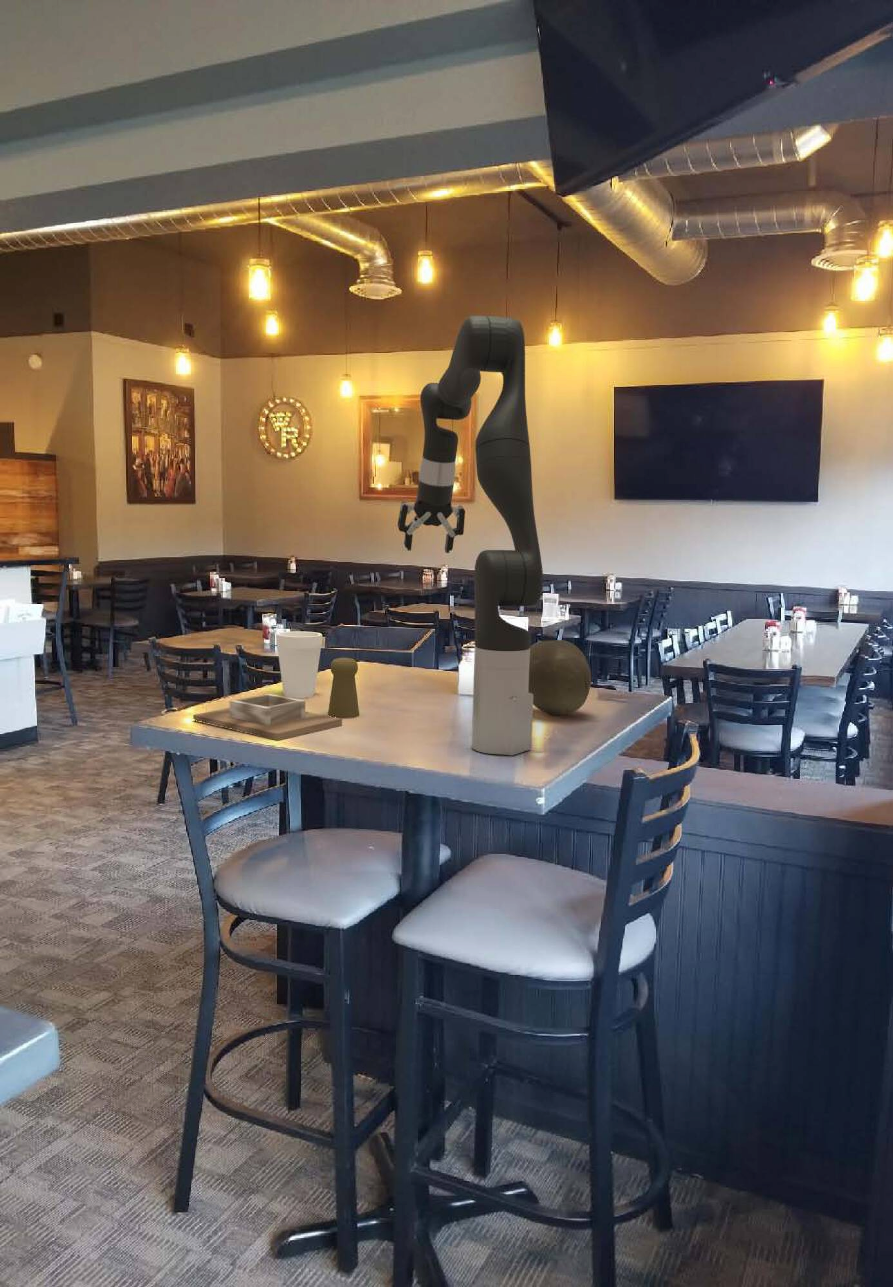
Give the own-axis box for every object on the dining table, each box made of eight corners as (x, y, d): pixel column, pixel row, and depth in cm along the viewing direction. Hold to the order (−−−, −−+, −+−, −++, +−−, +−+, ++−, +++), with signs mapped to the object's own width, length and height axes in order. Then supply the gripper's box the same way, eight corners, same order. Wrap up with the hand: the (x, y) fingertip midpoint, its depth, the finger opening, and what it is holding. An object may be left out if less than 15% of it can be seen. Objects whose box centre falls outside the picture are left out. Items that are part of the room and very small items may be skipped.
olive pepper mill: (354, 719, 182) (354, 661, 180) (323, 716, 183) (324, 659, 181) (363, 712, 187) (364, 657, 186) (333, 710, 189) (334, 655, 187)
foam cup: (268, 697, 200) (268, 635, 198) (289, 689, 209) (289, 630, 207) (309, 701, 197) (309, 638, 196) (328, 693, 206) (329, 633, 204)
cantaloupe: (569, 706, 199) (572, 634, 197) (601, 721, 186) (605, 644, 183) (506, 709, 194) (508, 635, 192) (534, 724, 181) (537, 645, 179)
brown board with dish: (342, 725, 176) (342, 702, 175) (277, 740, 163) (277, 716, 163) (258, 708, 189) (258, 687, 188) (193, 721, 176) (193, 698, 175)
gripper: (405, 482, 199) (397, 555, 206) (472, 486, 202) (462, 558, 209) (401, 471, 206) (393, 542, 213) (466, 476, 209) (456, 546, 216)
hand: (427, 550), depth 211 cm, fingers open, 8 cm apart
